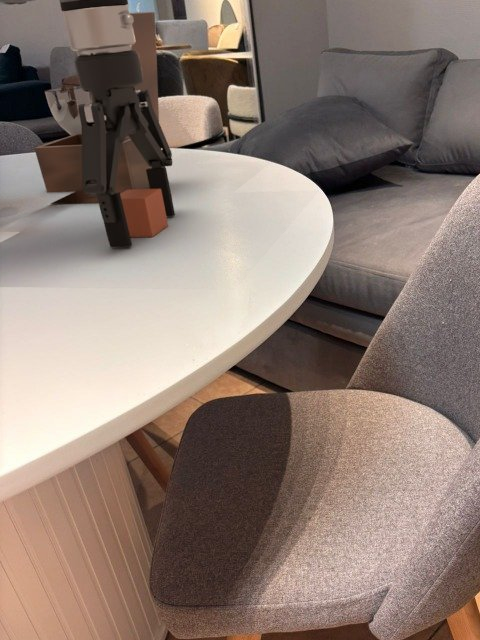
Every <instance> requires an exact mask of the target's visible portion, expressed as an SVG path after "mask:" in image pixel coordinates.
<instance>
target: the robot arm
mask: <svg viewBox="0 0 480 640" xmlns="http://www.w3.org/2000/svg"><path fill="white" fill-rule="evenodd" d="M34 1H35V0H0V5H7V6H12V5H19V6H20V5H23V4H26V3H28V2H34ZM58 1H59V4H60V5H59V6H60V10H61V12H62V16H63V17H62V18H63V22H64V26H65V30H66V34H67V39H68V43H69V48H70V50H71V51H72V52H76V54H77V56H76V57H74V59H75V60H73V63H74V66H75V71H76V75H77V79H78V83H79V86H80V87H81V89H82V90H83V91H86V92H90V94H91V95H92V96H91V97H92V103H88V104H79V106H78V110H79V116H80V121H81V126H82V189H83V192H84V193H85V194H88V195H89V196H95V195H96V197H97V199H98V203H97V204H98V206H99V207H98V208H99V210H100V214H101V218H102V221H103V224H104V228H105V232H106V237H107V241H108V244H109V248H130V247H131V246H133V243H132V239H131V238H132V237H130V234H129V230H128V225H127V221H126V217H125V212H124V208H123V204H122V200H121V195H120V192H119V193H115V187H116V179H117V171H118V163H119V155H120V147H121V144H122V143H123V142H124V141H125V137H127V136H129V137H130V139H131V140H132V142H133V143H134V145H135V146H136V148H137V149H138V151H139V152H140V153H141V155H142V156H143V158H144V159H145V161H146V162H147V164H148V165H149V167H152V168H148V169H146V173H147V177H148V182H149V187H150V189H161V191H162V196H163V201H164V207H165V212H166V217H174V216H175V215H176V211H175V207H174V202H173V197H172V192H171V187H170V182H169V181H170V180H169V175H168V171H167V167H172V166H173V158H172V156H173V153H172V150H171V148H170V145H169V143H168V141H167V138H166V135H165V133H164V132H163V129H162V127H161V124H160V120H159V121H158V119H157V117H156V114H155V112H154V109H153V107H152V103H151V99H150V95H149V91H148V90H147V89H145V90H135V88H134V86H138V85H141V84H142V83H143V74H142V69H141V64H140V59H139V54H138V53H136V51H132V47H131V45H134V44H135V42H136V41H135V36H134V31H133V26H132V24H133V22H134V19H133V17H132V15H130V13H131V11H130V7H129V0H58ZM160 148H161V149H162V150H161V149H160ZM106 182H107V184H106Z"/></svg>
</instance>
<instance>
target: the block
mask: <svg viewBox="0 0 480 640" xmlns="http://www.w3.org/2000/svg"><path fill="white" fill-rule="evenodd" d="M120 195H121V200H122V204H123V208H124V212H125V217H126V221H127V225H128V230H129V234H130V238H153V237H155V236H156V235H157V234H159V233H160V232H162V231H163V230H164V229H166V228H168V226H169V222H168V218H167V217H168V216H166V212H165V207H164V201H163V196H162V191H161V189H133V190H126V191H124V192H123V193H121V194H120Z"/></svg>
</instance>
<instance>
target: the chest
mask: <svg viewBox="0 0 480 640" xmlns="http://www.w3.org/2000/svg"><path fill="white" fill-rule="evenodd" d="M33 149H34V152H35V155H36V160H37V162H38V166H39V169H40V173H41V177H42V180H43V183H44V187H45V190H46V193H47V194H48V193H69V194H67V195H65V196H63V197H61V198H59V199H56V200H54V201H52V202H50V205H66V204H67V205H68V204H69V205H70V204H71V205H73V204H99V203H98V199H97V197H96V195H95V196H89V195H88V194H85V193H84V192H83V189H82V133H79V134H74V135H68V136H66V137H62V138H60V139H56V140H53V141H51V142H48V143H45V144H42V145H39V146H36V147H34V148H33ZM160 149H161V150H162V148H160ZM148 168H152V167H149V165H148V164H147V162H146V161H145V159H144V158H143V156H142V155H141V153H140V152H139V151H138V149H137V148H136V146H135V145H134V143H133V142H132V140H131V139H130V138H129V139H126V140H125V141H124V142H123V143H122V144H121V147H120V155H119V163H118V171H117V179H116V187H115V193H119V192H120V194H121V193H123V192H124V191H126V190H133V189H150V187H149V182H148V177H147V173H146V169H148ZM106 184H107V182H106Z"/></svg>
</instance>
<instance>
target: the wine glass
mask: <svg viewBox="0 0 480 640" xmlns="http://www.w3.org/2000/svg"><path fill="white" fill-rule="evenodd" d="M44 94H45V98H46V100H47V101H46V102H47V104H48V107H49V109H50V112H51V115H52V116H53V118H54V121H55V122H56V123H57V125H58V126H59V127H60V128H61V129H62V130H63V131H65V132H66V133H68V135H69V136H71V135H74V134H79V133H82V126H81V121H80V116H79V110H78V106H79V104H88V103H93V99H92V96H91V95H92V94H91V92H86V91H83V90H82V89H81V87H80V85H77V86H66V87H59V88H54V89H48V90H44Z"/></svg>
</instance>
